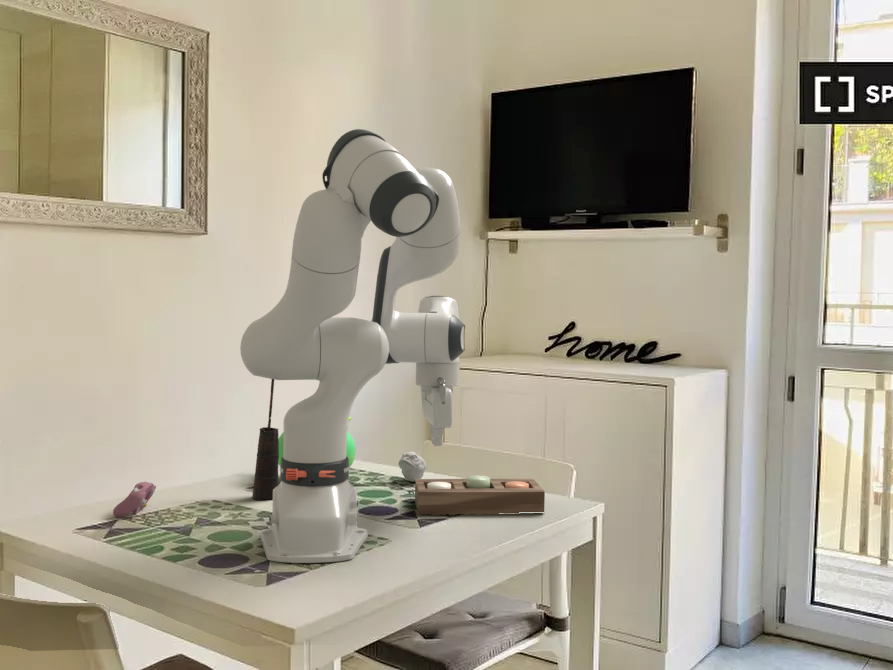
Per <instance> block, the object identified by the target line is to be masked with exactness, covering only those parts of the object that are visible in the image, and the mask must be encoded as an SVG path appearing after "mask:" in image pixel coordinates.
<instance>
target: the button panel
mask: <svg viewBox="0 0 893 670" xmlns="http://www.w3.org/2000/svg"><path fill="white" fill-rule="evenodd" d="M511 481H520V482H526V483H528V484H529V488H505V483H506V482H511ZM430 482H447V483H450V484H451V489H427V484H428V483H430ZM414 484H415V485H414V503H415V507H416V510H417V515H418V516H423V515H422V514H432V515H431V516H434V515H435V514H436V515H435V516H437V515H439V516H441V515H444V516H445V515H446V514H449V515H450V516H451V514H453V516H455V514H476V515H500V514H499V513H519V512H544V513H545V503H546V502H545V500H546V499H545V493H546V491H545V490H544V489H543V488H542V487H541V486H540V485H539V483H538V482H537V481H536V479H534V478H490V488H474V489H466V485H467V478H421V479H415V482H414ZM440 514H441V515H440ZM449 515H448V516H449ZM446 516H447V515H446Z"/></svg>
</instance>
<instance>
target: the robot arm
mask: <svg viewBox="0 0 893 670" xmlns="http://www.w3.org/2000/svg"><path fill="white" fill-rule="evenodd" d="M321 175H322V183H323V186H324V189H322V190H321V189H320V190H317V191H315V192H312V193H311V194H310V195H308V196H307V197H306V199H305V200H304V201H303V203H302V205H301V208H300V211H299V214H298V217H297V221H296V225H295V230H294V233H293V239H292V248H291V249H292V250H291V259H290V260H291V261H290V271H289V275H288V280H287V286H286V289H285V291H284V293H283V295H282V297H281V298H280V300H279V301H278V302H277V304H276V305H275V306H274V307H273V308H272V309H271V310H270V311H268V312H267V313H266V314H264V315H263V316H261V317H260V318H258V319H256V320H254V321H252V322H251V323H250V324H249V325H248V327H247V328H246V329H245V330H244V333H243V334H242V337H241V341H240V347H239V349H240V356H241V360H242V362H243V364H244V366H245V368H246V369H247V370H248V372H249V373H250V374H251V375H252V376H254V377H255V376H256V377H258V378H259V377H260V378H265V379H271V380H272V379H274V381H275V380H276V381H301V380H302V381H303V380H304V381H305V380H307V381H311V380H312V381H319V383H318V387H317V389H316V390H315V392H314V393H313V394H312V395H310V396H309V397H307V398H304V399H302V400H301V401H298V402H297V403H296V404H294V405H292V406H291V407H289V409H288V410H287V412H286V413H285V415H284V418H283V432H284V438H283V457H282V458H281V465H280V466H279V471H280V477H279V479H280V483H278V486H277V487H275V489H273V499H272V513H271V514H272V515H269V520H268V522H269V523H270V524H272V525H271V527H270V528H266V529H262V530H261V531H260V535H259V539H260V542H261V544H262V545H261V546H262V548H263V551H264V553H265V556H266V557H265V558H266V559H267V560H268V561H272V562H278V563H279V562H280V563H293V564H295V563H296V564H299V563H301V564H304V563H305V564H311V563H312V564H313V563H314V564H316V563H334V562H343V561H347V560H348V561H349V560H352V559H354V557H355V555H356V554H357V553H358V551H359V550H360V548H361V547H362V546H363V544H364V542H365V541H366V539H367V538H368V536H369V535H368V533H369V532H368V529H366V528H363V527H362V528H361V527H359V526H358V525H359V512H358V508H359V500H358V498H357V496H358V495H357V494H358V491H357V488H355V487H354V486H353V485H352V484H351V483H350V481H349V477H350V468H349V458H348V457H347V456H346V448H347V431H348V428H349V422H348V420H349V417H350V413H351V410H352V407H353V404H354V402H355V400H356V398H357V396H358V395H359V393H360V392H361V391H362V389H363V388H364V386H365V385H366V384H368V382H369V381H371V380H372V379H373V378H374V377H375V376H378V374H379V373H380V372H381V371H382V369H384V368H385V366H386V365H391V364H400V363H410V364H411V363H413V364H415V385H416V386H420V393H421V394H420V395H421V405H422V406H421V407H422V412H423V413H422V414H423V416H424V417H425V418H426V420H427V421H428V422H429V423H430V432H431V433H430V434H431V444H432V445H433V446H434V447H441V446H442V445H443V434H444V430H445V428H446V429H448V428H451V427H452V426H453V394H454V387H458V386H460V372H461V371H460V368H461V367H460V363H461V361H460V356H461V355H462V354H463V353H464V352H465V351H466V349H465V346H466V345H465V337H466V336H465V334H466V333H465V329H466V324H464V322H462V321H461V320H460V314H459V313H460V312H459V306H458V301H457V300H456V299H455V298H453V297H451V296H446V295H429V296H426V297H423V298H421V300H420V301H419V304H418V305H419V307H418V310H417V311H418V312H401V311H398V310H395V307H396V298H397V293H398V291H399V290H401V288H403V287H405V286H408V285H410V284H412V283H414V282H418V281H422V280H425V279H430V278H434V277H436V276H438V275H440V274H442V273H443V272H445V271H446V270H447V269H449V268H450V267H451V266H452V264H454V262H455V261H456V259H457V257H458V256H459V252H460V245H461V232H462V231H461V216H460V208H459V202H458V197H457V192H456V189H455V186H454V182H453V179H452V178H451V177H450V176H449V175H448V174H447V173H446V172H445V171H443V170H441V169H439V168H436V167H431V166H430V167H429V166H428V167H427V166H425V167H419V168H415V167H414V166H413V165H412V164H411V163H410V162H409V160H408V159H407V158H406V157H405V155H403V154H402V153H401V152H400V151H399V150H398V149H396V148H395V147H394V146H393V145H391V144H390V143H388V142H387V141H386V139H385V138H383V137H382V136H381V135H379V134H377V133H375V132H372V131H370V130H366V129H362V128H357V129H356V128H355V129H352V130H349V131H347V132H345V133H344V134H343V135H341V136H340V137H339V138H338V139H337V141H336V142H335V143H334V145H333V147H332V148H331V150H330V152H329V154H328V158H327V163H326V166H325V168H324V169H323V172H322V174H321ZM370 223H372V224H373V225H374V226H375V227H376V228H377V229H378V230H380V231H381V232H383V233H385V234H386V235H389V236H392V237H395V240H394V242H393V243H392V244H391V245H390V246H388V247H386V248H385V249H383V251H382V253H381V256H380V259H379V265H378V270H377V271H378V272H377V275H376V277H377V278H376V284H375V291H374V292H375V293H374V301H373V309H372V310H373V312H372V319H371V320H367V319H363V318H357V317H337V316H336V315H339V314H340V313H342V312H343V311H345V310H346V309H347V308H348V307H349V306H350V305H351V303H352V301H353V300H354V298H355V296H356V291H357V285H358V277H359V276H358V275H359V267H360V262H361V251H362V239H363V236H364V233H365V231H366V229H367V227H369V224H370ZM335 316H336V317H335Z"/></svg>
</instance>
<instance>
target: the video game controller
mask: <svg viewBox="0 0 893 670" xmlns="http://www.w3.org/2000/svg"><path fill="white" fill-rule="evenodd" d="M156 489H157V485H155V484H154V483H153V482H148V481H142V482H138V483H136V484H135V486H134V487H133V489H132V490H131V492H130V493H129V494H128V495H127V496H126V497H125V498H124V499H123V500H122V501H121V502H119V503H118V504H117V505H116V506H115V507H114V508H113V511H112V515H113V516H114V517H115V518H122V517H126V516H127V515H129V514H131V513H132V514H134V515H137V514H138V513H139V512H140V511H143V509H144V508H146V507H147V505H148V504H147V503H148V502H149V500H150V499H151V498H152V497H153V495H154V493H155V490H156Z"/></svg>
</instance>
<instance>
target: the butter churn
mask: <svg viewBox="0 0 893 670" xmlns="http://www.w3.org/2000/svg"><path fill="white" fill-rule="evenodd" d="M274 387H275V379H271V382H270V399H269V407H268V408H269V410H268V422H267V427H266V426H264V427H261V428H259V436H258V441H257V442H258V443H257V453H256V463H255V468H254V469H255V472H254V481H253V487H252V488H253V489H252V499H254V500H257V501H261V500H273V489H275V487H277V486H278V485H279V464H278V459H279V437H280V436H279V428H276V427H271V426H272V425H271V423H272V418H271V417H272V411H273V400H274V397H273V396H274V389H275V388H274Z"/></svg>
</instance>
